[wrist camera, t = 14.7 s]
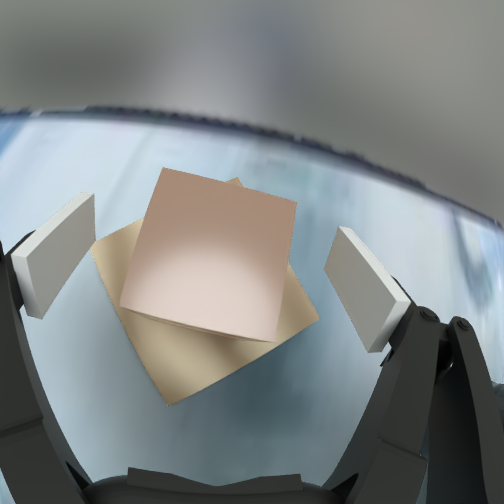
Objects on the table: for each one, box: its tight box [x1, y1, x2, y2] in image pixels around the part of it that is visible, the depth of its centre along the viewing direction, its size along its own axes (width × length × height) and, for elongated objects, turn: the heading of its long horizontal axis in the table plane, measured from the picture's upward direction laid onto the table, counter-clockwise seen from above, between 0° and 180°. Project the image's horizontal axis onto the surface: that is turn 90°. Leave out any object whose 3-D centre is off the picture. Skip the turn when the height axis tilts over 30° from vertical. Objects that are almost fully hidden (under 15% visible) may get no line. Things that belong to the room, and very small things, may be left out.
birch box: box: [90, 177, 320, 406], centre depth 28 cm, size 16×16×5 cm
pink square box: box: [119, 168, 297, 342], centre depth 20 cm, size 8×8×11 cm
